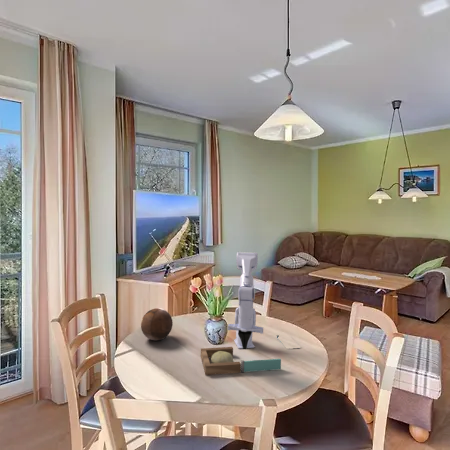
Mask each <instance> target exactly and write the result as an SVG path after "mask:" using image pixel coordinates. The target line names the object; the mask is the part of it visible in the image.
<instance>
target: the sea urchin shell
mask: <svg viewBox="0 0 450 450" xmlns="http://www.w3.org/2000/svg"><path fill="white" fill-rule="evenodd" d="M226 362H234V356H232V355H231V354H230V353H228V352H224V351H218V352H216V353H214V354H213V355H212V357H211V358H210V363H226Z"/></svg>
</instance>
